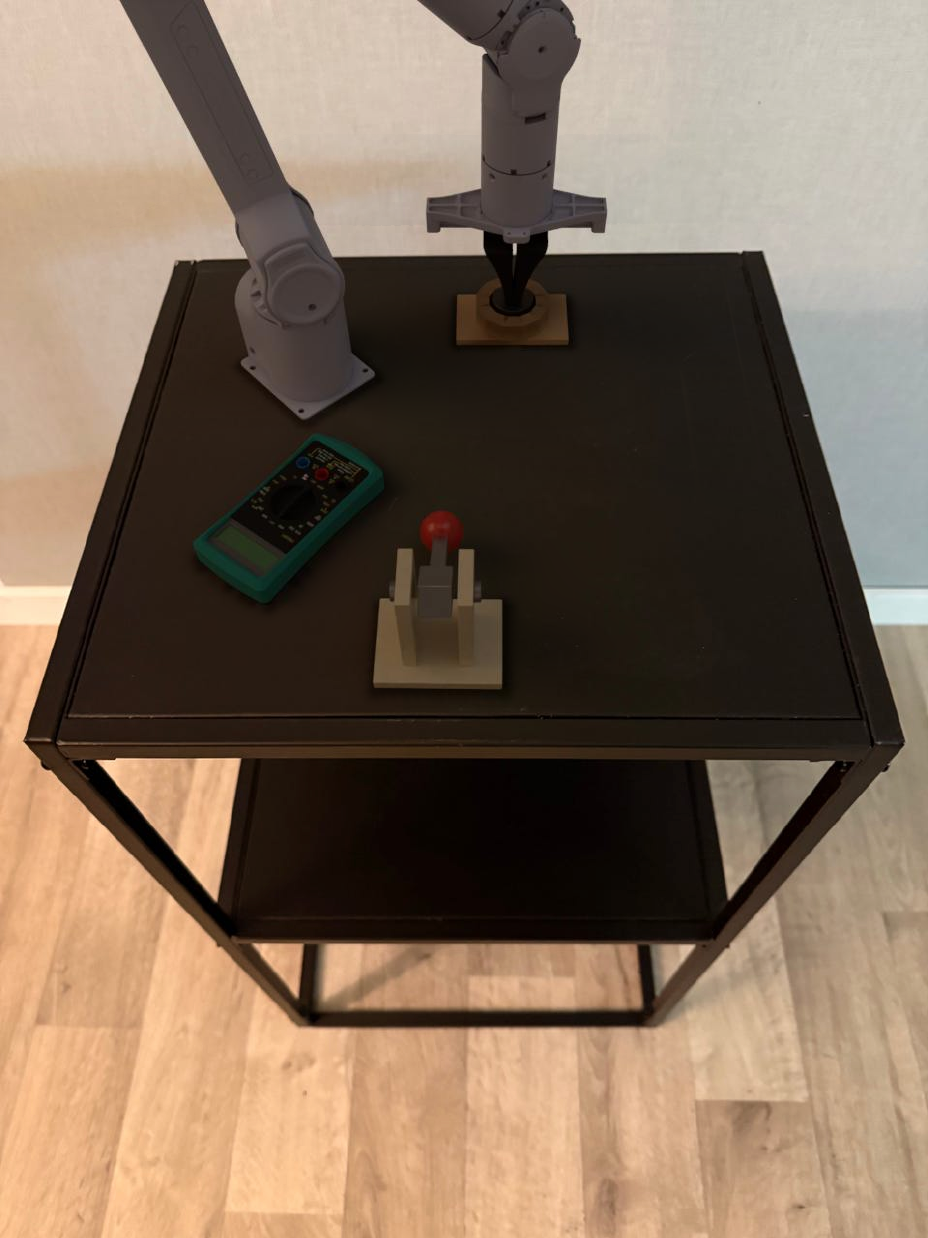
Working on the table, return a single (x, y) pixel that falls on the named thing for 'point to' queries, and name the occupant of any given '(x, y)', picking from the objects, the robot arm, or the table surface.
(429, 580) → the switch lever
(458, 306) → the button block
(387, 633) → the switch bracket
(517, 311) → the button
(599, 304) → the table surface
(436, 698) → the table surface
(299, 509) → the digital multimeter
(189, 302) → the table surface
